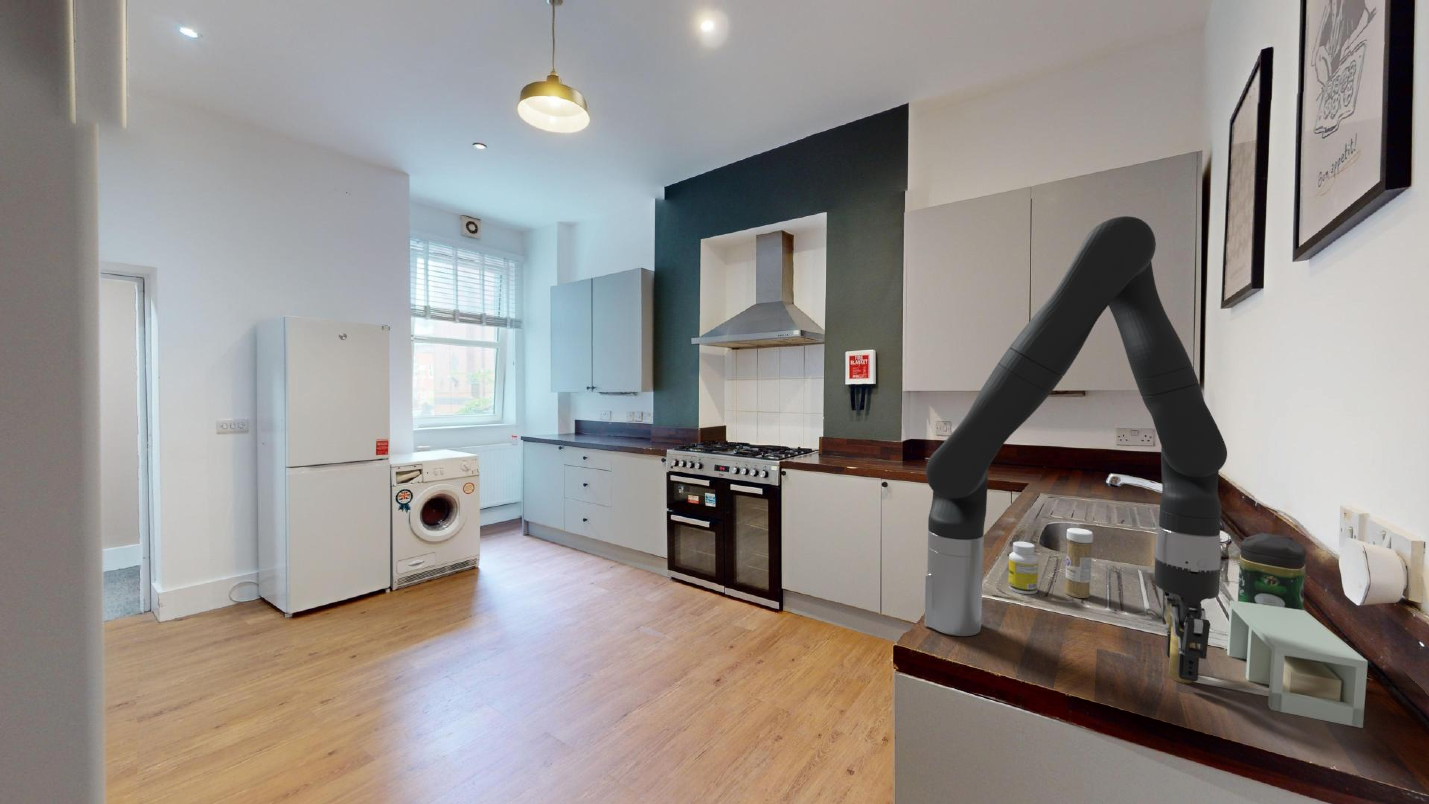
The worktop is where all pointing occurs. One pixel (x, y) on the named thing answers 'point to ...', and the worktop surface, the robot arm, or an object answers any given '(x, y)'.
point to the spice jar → (1078, 562)
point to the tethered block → (1295, 677)
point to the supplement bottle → (1023, 568)
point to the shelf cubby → (1298, 636)
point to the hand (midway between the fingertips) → (1181, 668)
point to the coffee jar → (1272, 571)
